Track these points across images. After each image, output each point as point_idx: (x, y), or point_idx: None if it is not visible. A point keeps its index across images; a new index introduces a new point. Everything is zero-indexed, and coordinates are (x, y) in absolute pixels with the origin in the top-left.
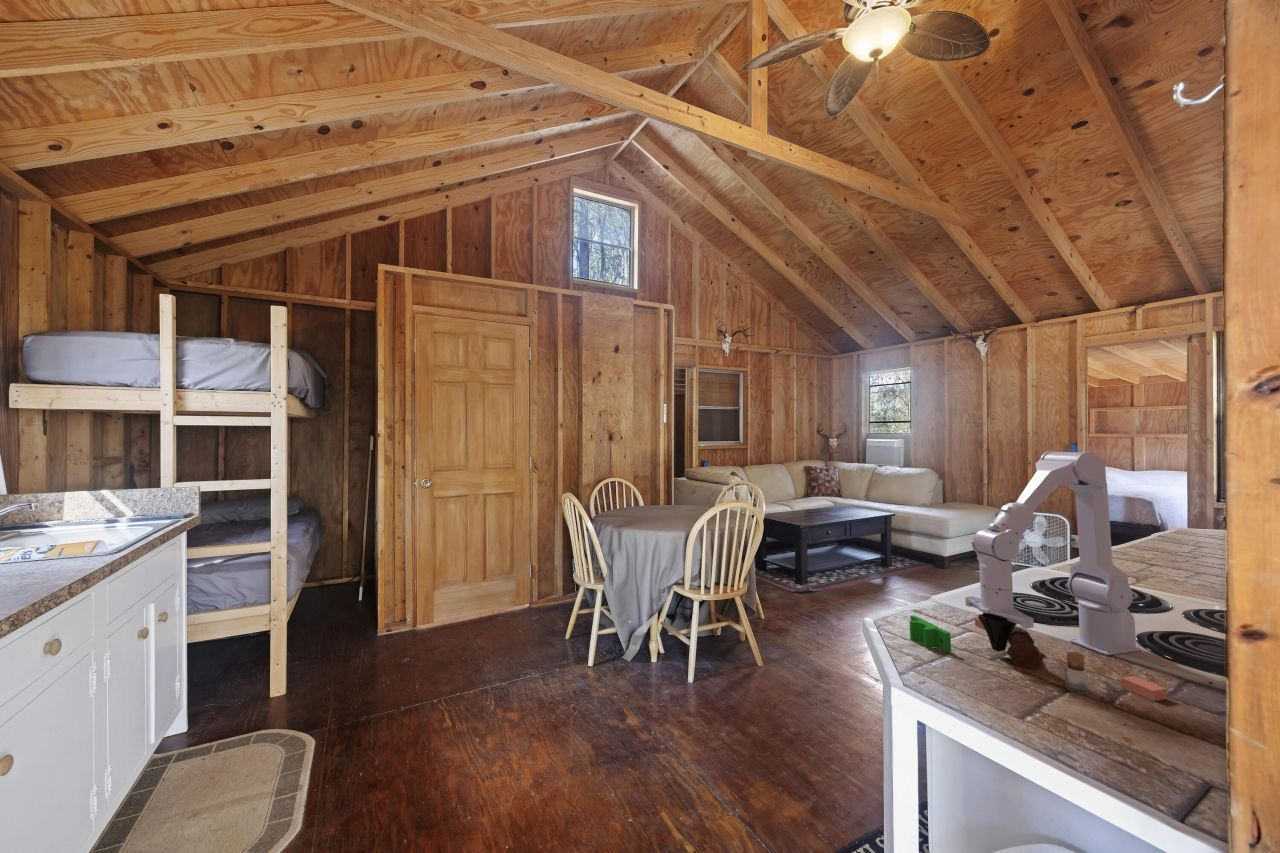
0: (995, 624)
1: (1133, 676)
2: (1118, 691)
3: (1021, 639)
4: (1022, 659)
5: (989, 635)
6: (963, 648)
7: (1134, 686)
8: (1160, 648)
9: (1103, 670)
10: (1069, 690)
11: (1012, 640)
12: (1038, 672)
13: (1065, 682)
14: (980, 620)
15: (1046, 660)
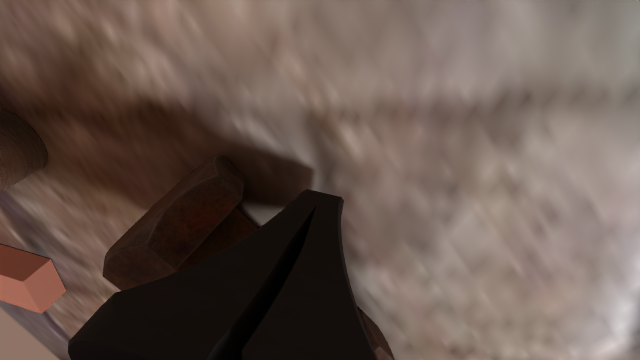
0: (128, 303)
1: (37, 309)
2: (27, 230)
3: None
4: (180, 186)
5: (324, 247)
6: (518, 129)
7: (3, 265)
8: None
9: None
10: (3, 109)
11: None
12: (152, 170)
13: (9, 133)
14: (366, 351)
15: None
